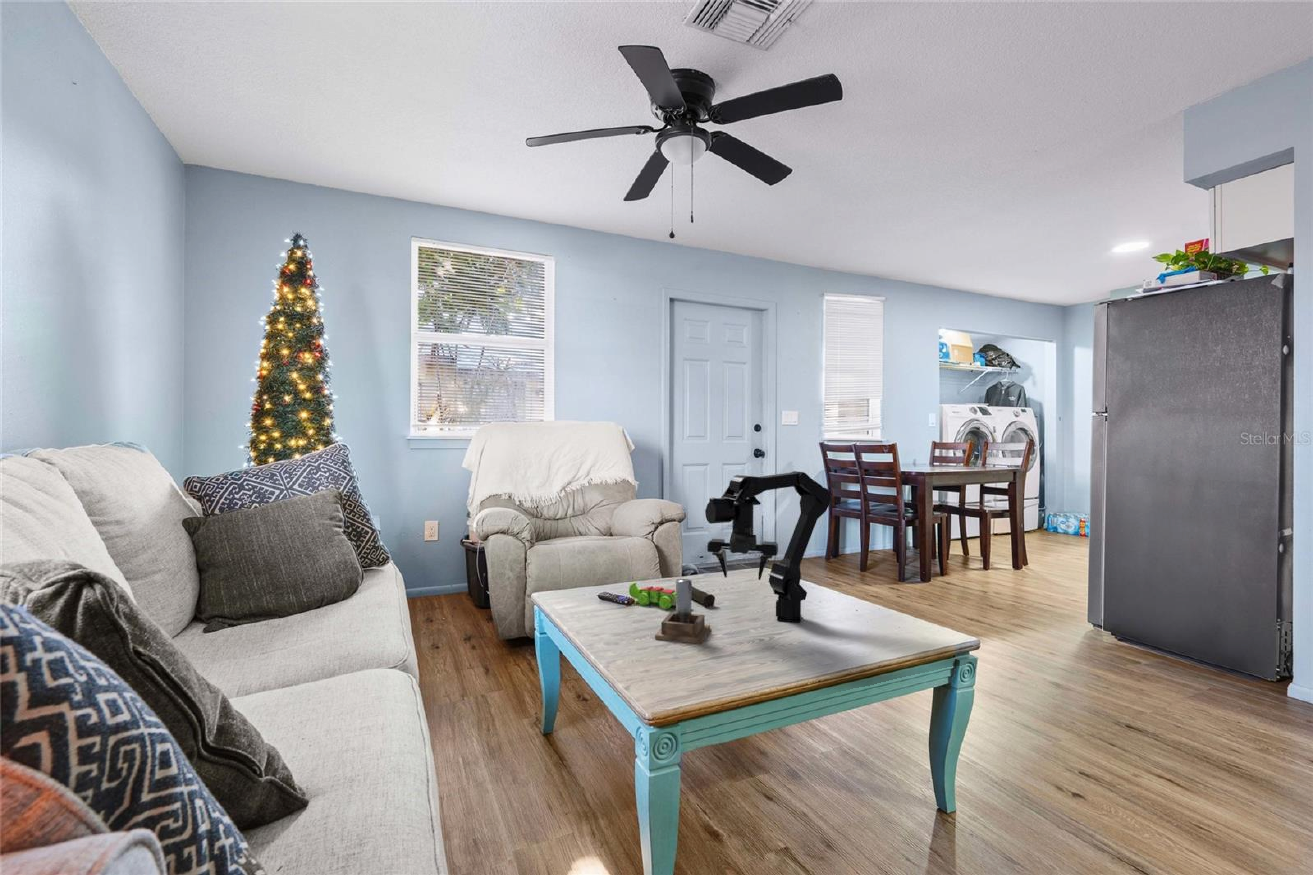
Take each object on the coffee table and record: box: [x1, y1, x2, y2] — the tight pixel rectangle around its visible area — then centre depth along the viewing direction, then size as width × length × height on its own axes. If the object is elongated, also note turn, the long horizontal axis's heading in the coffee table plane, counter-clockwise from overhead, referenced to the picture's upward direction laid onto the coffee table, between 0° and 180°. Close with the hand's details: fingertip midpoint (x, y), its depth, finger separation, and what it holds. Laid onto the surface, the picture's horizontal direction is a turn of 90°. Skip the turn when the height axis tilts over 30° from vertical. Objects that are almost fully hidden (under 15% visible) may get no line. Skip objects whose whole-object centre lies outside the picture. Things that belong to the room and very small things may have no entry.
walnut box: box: [654, 611, 711, 645], centre depth 157 cm, size 12×12×4 cm
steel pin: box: [675, 578, 692, 624], centre depth 157 cm, size 4×4×13 cm
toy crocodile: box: [628, 581, 676, 610], centre depth 184 cm, size 20×7×6 cm, turn 59°
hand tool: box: [691, 583, 716, 608], centre depth 190 cm, size 19×4×5 cm, turn 24°
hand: (742, 578), depth 164 cm, fingers open, 9 cm apart
